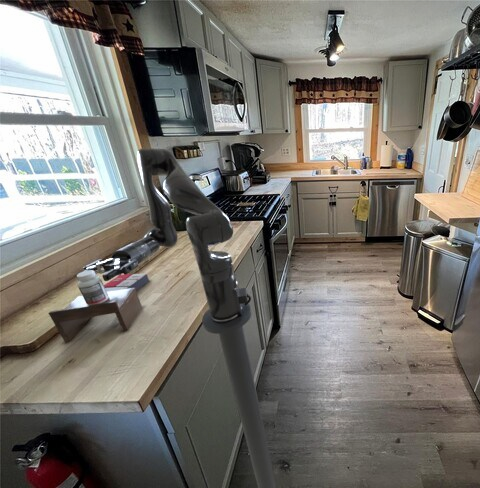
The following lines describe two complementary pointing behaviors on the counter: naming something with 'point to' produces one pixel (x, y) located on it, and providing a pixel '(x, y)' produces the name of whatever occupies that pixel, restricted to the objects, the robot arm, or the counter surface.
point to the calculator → (126, 282)
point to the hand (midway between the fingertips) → (91, 278)
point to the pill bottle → (91, 288)
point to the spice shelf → (97, 312)
